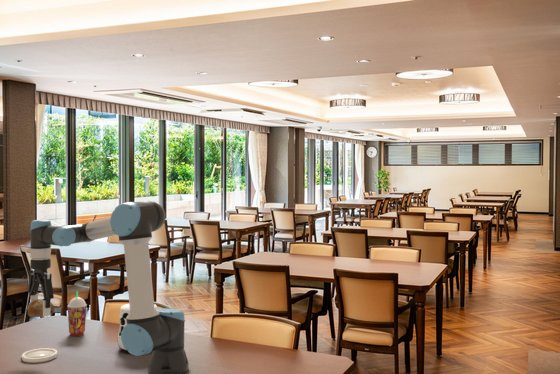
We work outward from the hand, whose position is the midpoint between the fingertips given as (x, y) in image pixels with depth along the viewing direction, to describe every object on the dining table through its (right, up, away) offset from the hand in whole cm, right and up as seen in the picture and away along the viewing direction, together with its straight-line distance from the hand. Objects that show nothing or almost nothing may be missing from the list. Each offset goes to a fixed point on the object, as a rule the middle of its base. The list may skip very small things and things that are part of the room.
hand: (40, 313), depth 224 cm
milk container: (+36, -18, +13) cm, 43 cm away
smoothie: (+3, -17, +32) cm, 36 cm away
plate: (0, -18, 0) cm, 18 cm away
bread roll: (0, -1, 0) cm, 1 cm away
